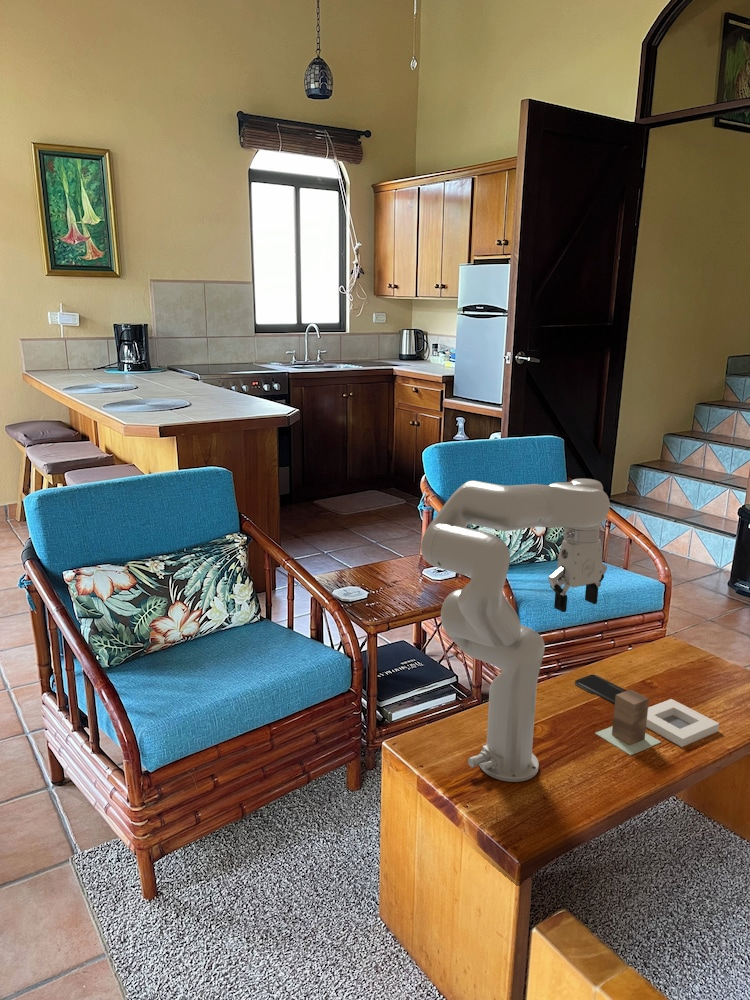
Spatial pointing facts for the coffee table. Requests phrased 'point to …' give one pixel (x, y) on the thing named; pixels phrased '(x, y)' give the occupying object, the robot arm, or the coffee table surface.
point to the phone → (599, 687)
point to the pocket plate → (679, 723)
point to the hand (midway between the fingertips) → (575, 606)
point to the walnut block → (630, 717)
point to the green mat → (631, 749)
